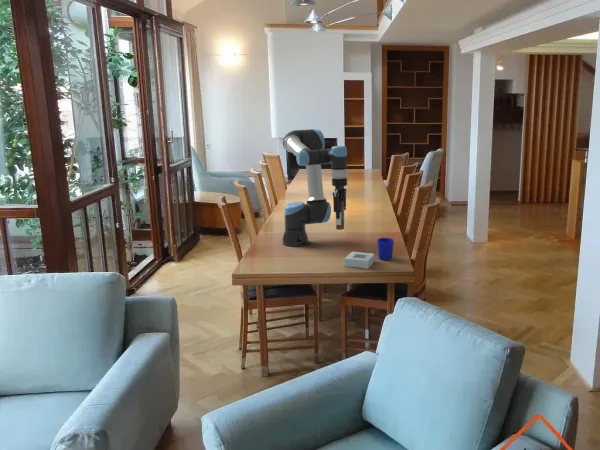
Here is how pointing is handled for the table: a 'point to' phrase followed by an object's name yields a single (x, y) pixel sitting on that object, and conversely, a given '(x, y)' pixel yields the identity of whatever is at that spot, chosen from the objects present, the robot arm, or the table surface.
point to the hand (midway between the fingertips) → (340, 223)
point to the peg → (341, 217)
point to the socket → (359, 260)
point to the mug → (385, 248)
